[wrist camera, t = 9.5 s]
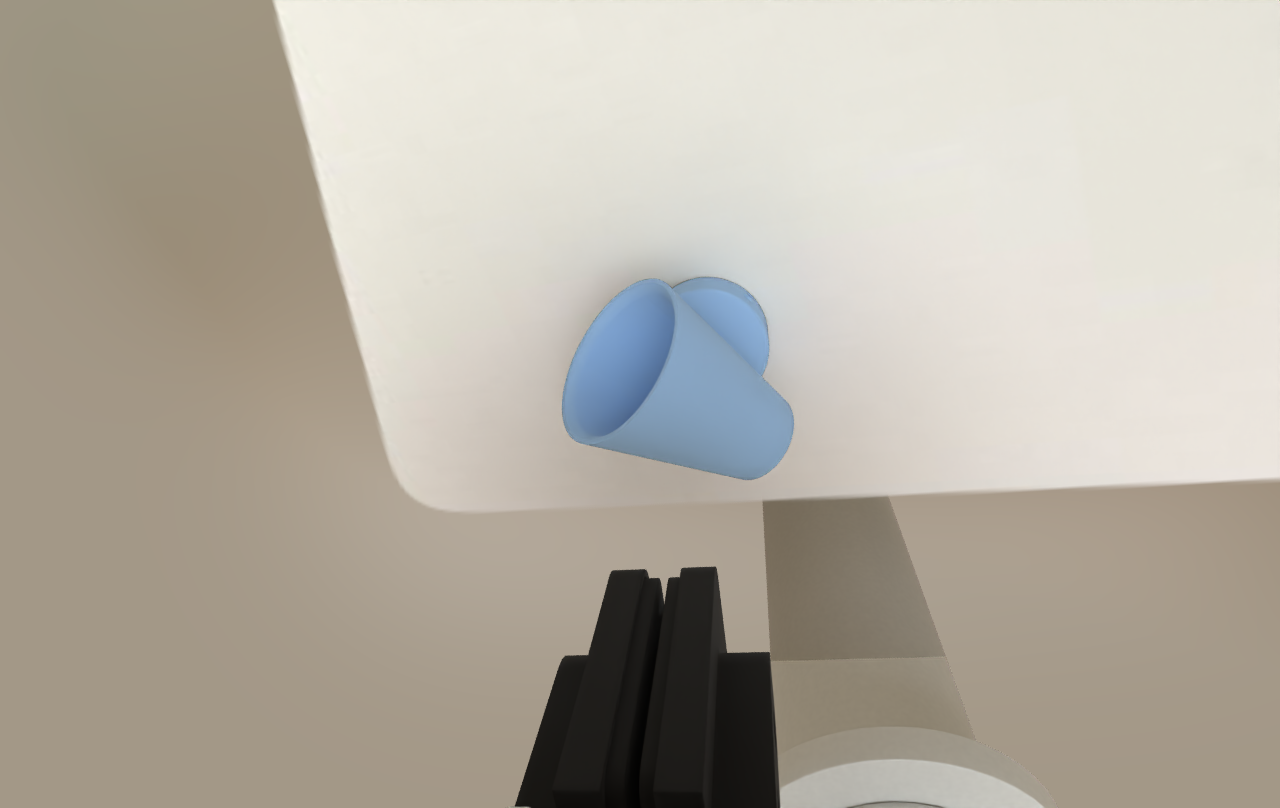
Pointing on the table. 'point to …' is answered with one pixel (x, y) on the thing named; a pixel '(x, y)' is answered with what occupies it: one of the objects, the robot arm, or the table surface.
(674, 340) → the spotlight
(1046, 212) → the table surface
